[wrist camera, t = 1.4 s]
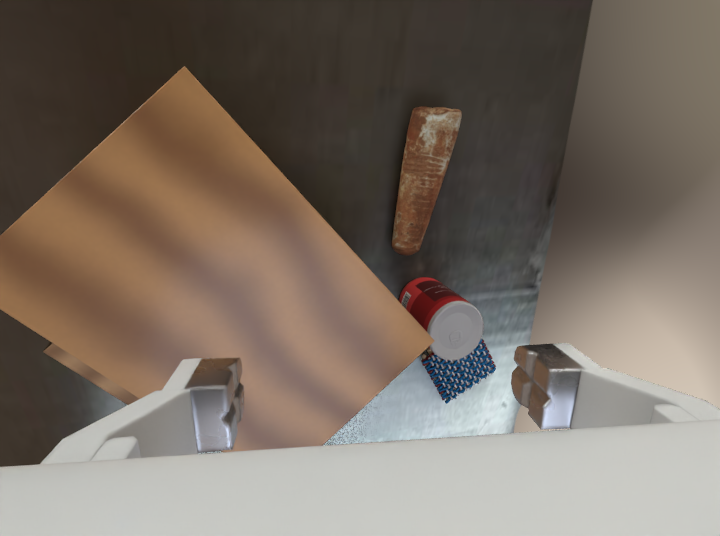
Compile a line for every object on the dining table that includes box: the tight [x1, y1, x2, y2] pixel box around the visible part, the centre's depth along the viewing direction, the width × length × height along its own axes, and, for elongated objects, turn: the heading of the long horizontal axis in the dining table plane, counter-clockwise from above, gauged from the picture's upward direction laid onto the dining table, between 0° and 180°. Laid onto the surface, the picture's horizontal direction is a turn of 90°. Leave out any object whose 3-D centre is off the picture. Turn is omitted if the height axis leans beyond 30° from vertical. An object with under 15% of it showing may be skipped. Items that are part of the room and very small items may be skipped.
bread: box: [392, 107, 462, 255], centre depth 50 cm, size 6×19×6 cm, turn 167°
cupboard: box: [0, 66, 435, 452], centre depth 38 cm, size 18×26×23 cm
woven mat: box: [422, 339, 496, 403], centre depth 62 cm, size 10×11×2 cm
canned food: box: [399, 277, 484, 360], centre depth 53 cm, size 8×8×11 cm
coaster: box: [44, 343, 139, 405], centre depth 48 cm, size 13×11×1 cm
